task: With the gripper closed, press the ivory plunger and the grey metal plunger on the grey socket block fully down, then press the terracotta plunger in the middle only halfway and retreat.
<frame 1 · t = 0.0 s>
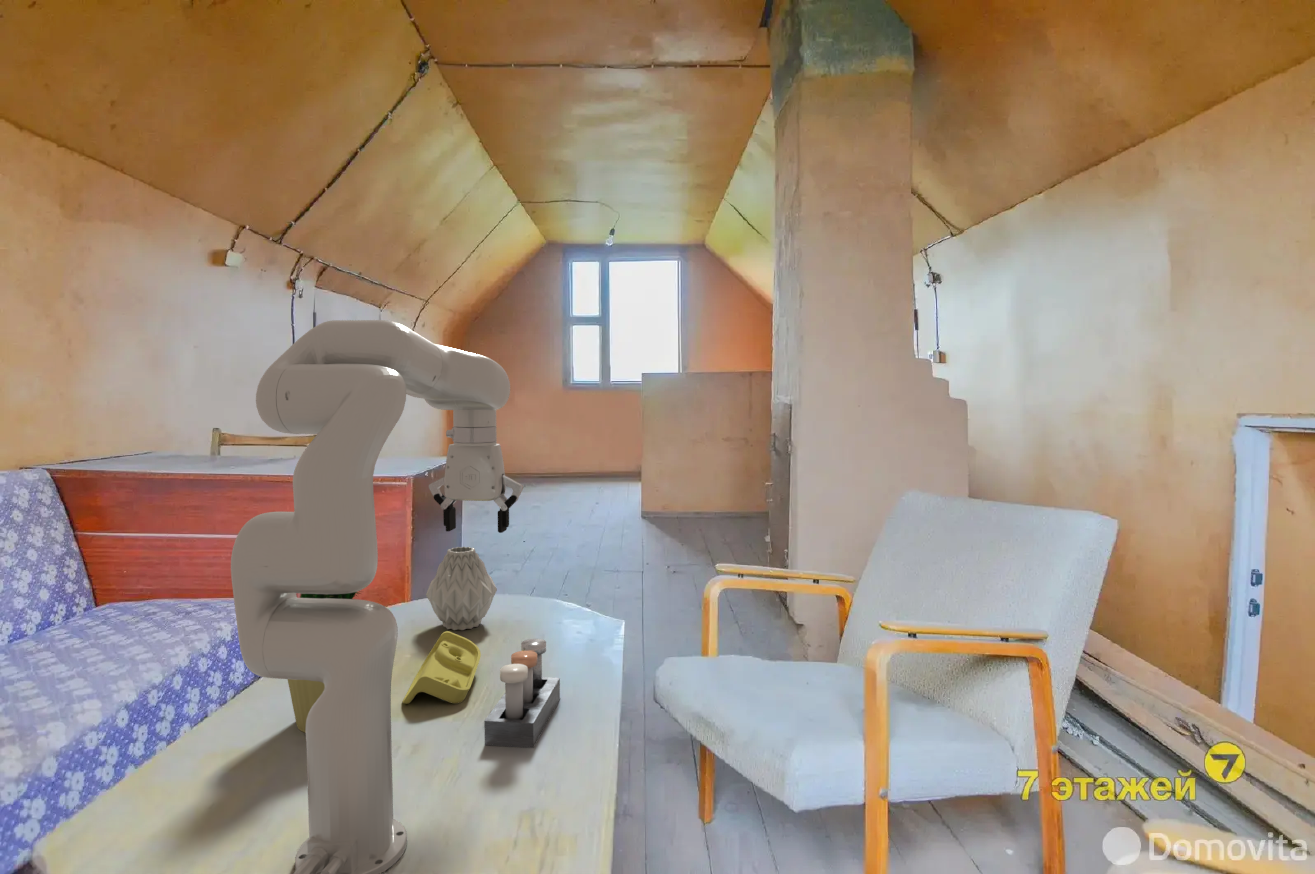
hand: (476, 530, 131), 31 cm above the table, tool pointing down, fingers open, 9 cm apart
ivory plunger: (514, 694, 118), point 7 cm above the table, slide at 0.0 cm
terracotta plunger: (524, 679, 124), point 7 cm above the table, slide at 0.0 cm
grey plunger: (533, 665, 130), point 7 cm above the table, slide at 0.0 cm
grey socket block: (524, 720, 125), on the table
vase: (462, 625, 174), on the table
potted cactus: (333, 720, 125), on the table
plastic component: (447, 686, 139), on the table
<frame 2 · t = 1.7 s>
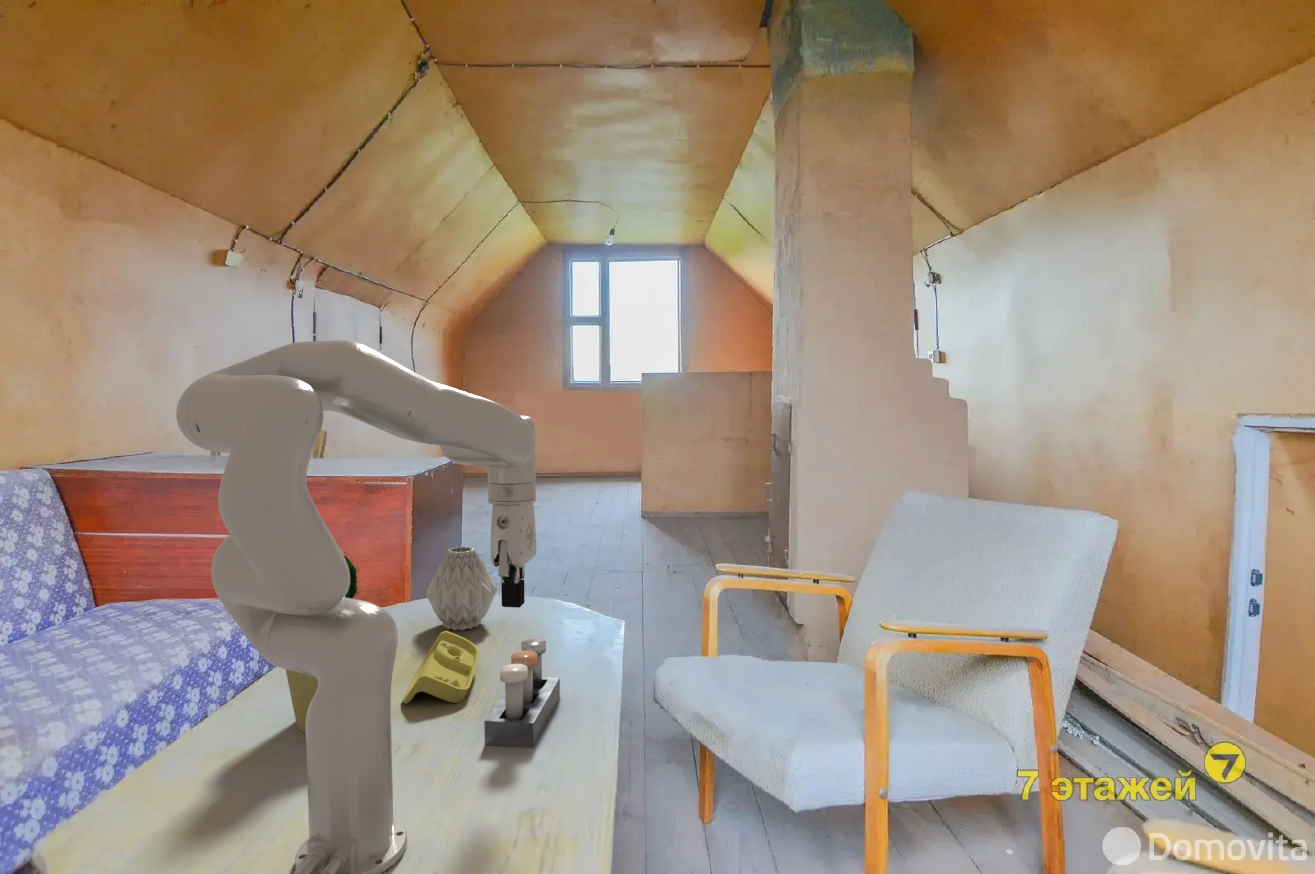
hand: (513, 604, 117), 22 cm above the table, tool pointing down, fingers closed
nothing on the table moved.
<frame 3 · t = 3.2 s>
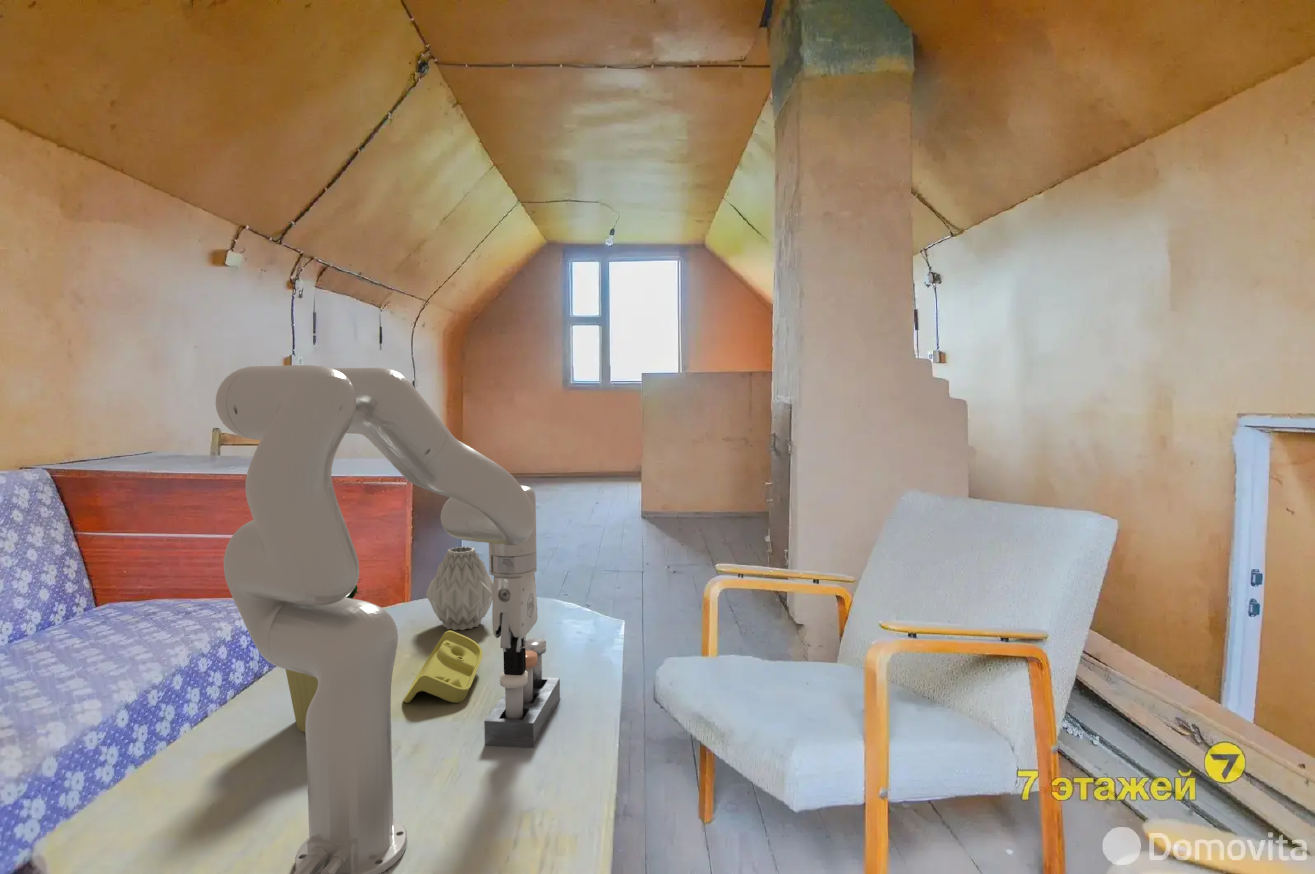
hand: (514, 672, 118), 11 cm above the table, tool pointing down, fingers closed
ivory plunger: (514, 698, 118), point 6 cm above the table, slide at -0.8 cm, touching gripper
everything else where it was.
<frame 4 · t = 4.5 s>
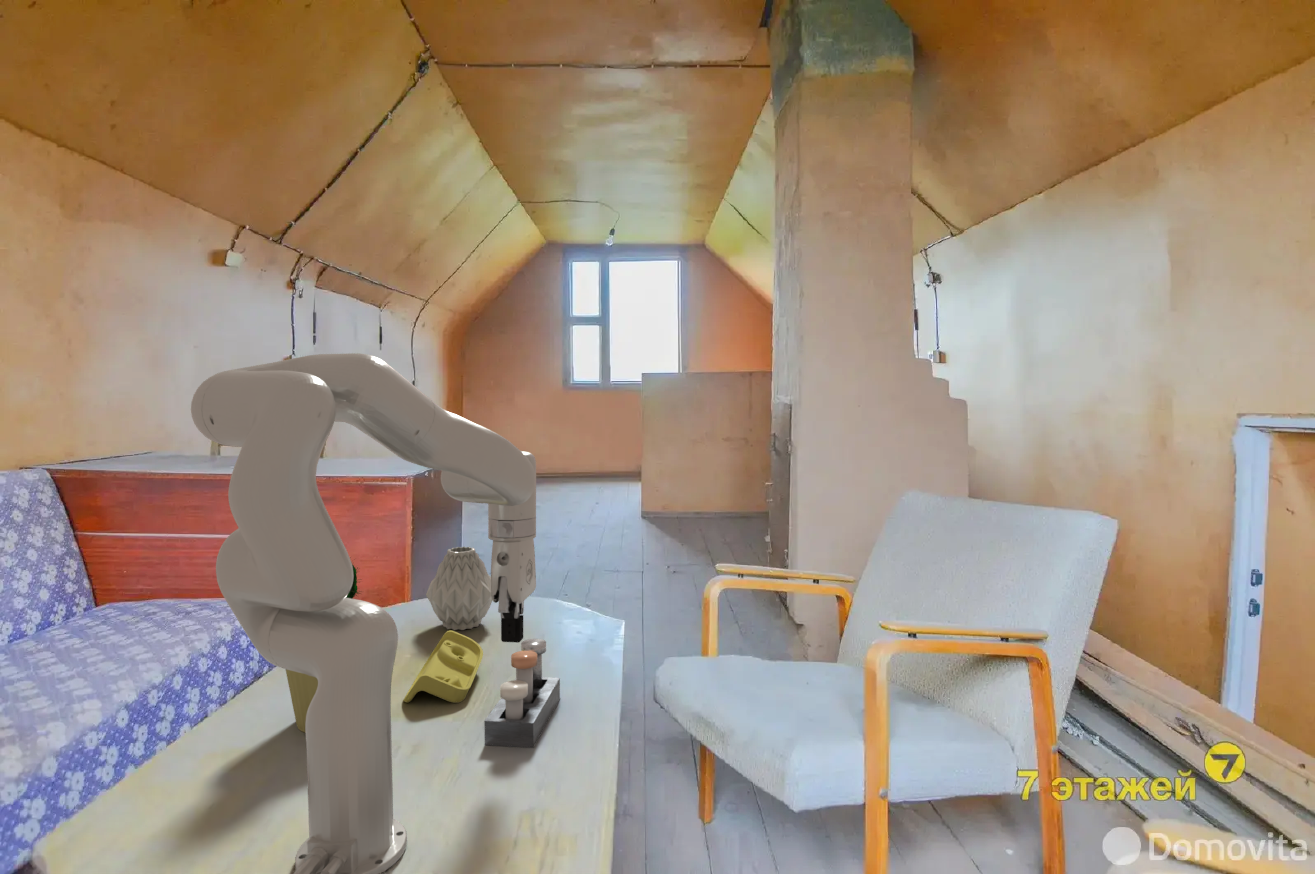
hand: (512, 640, 117), 16 cm above the table, tool pointing down, fingers closed
ivory plunger: (514, 710, 118), point 4 cm above the table, slide at -2.8 cm
everything else where it was.
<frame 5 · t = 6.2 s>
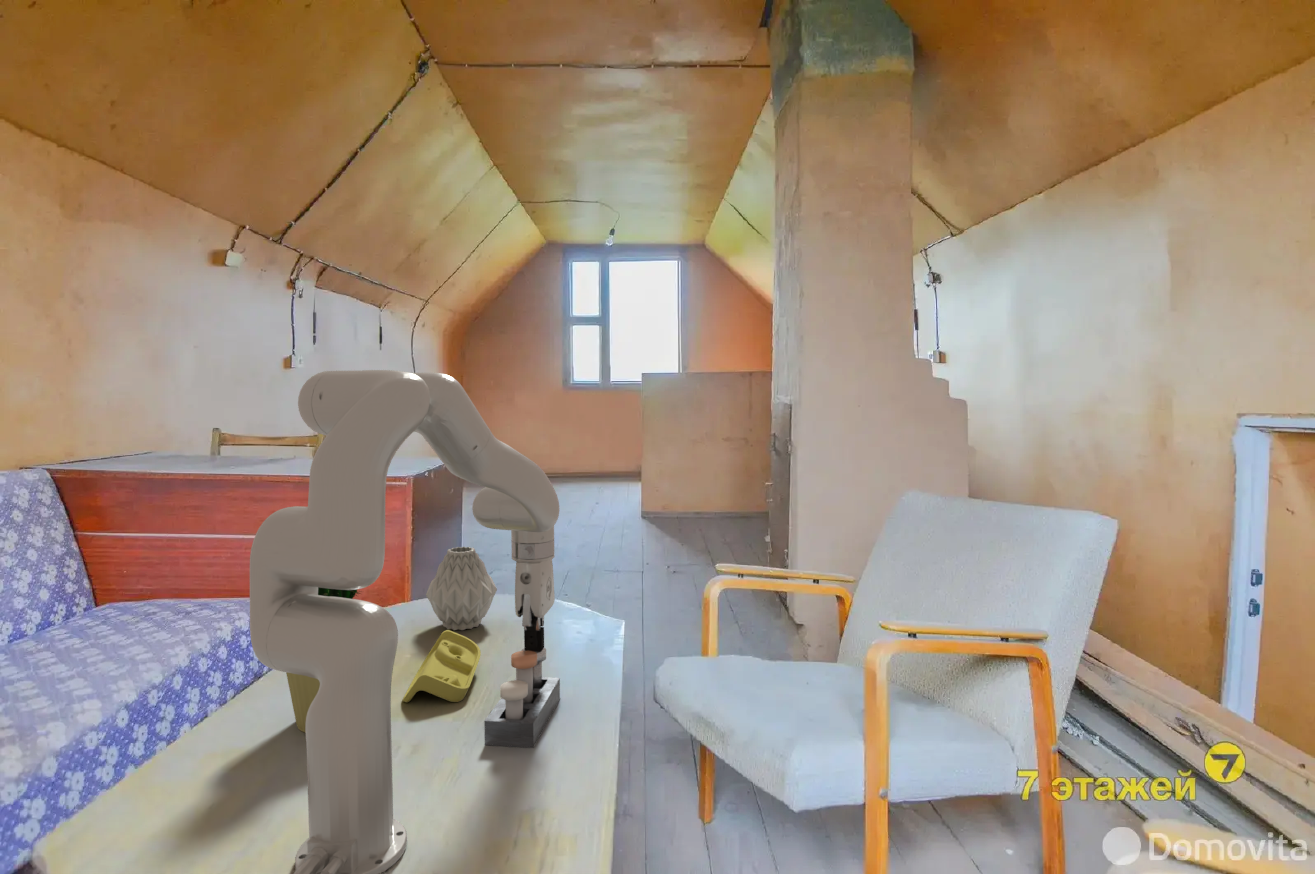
hand: (534, 649, 130), 10 cm above the table, tool pointing down, fingers closed
grey plunger: (533, 673, 130), point 6 cm above the table, slide at -1.4 cm, touching gripper
everything else where it was.
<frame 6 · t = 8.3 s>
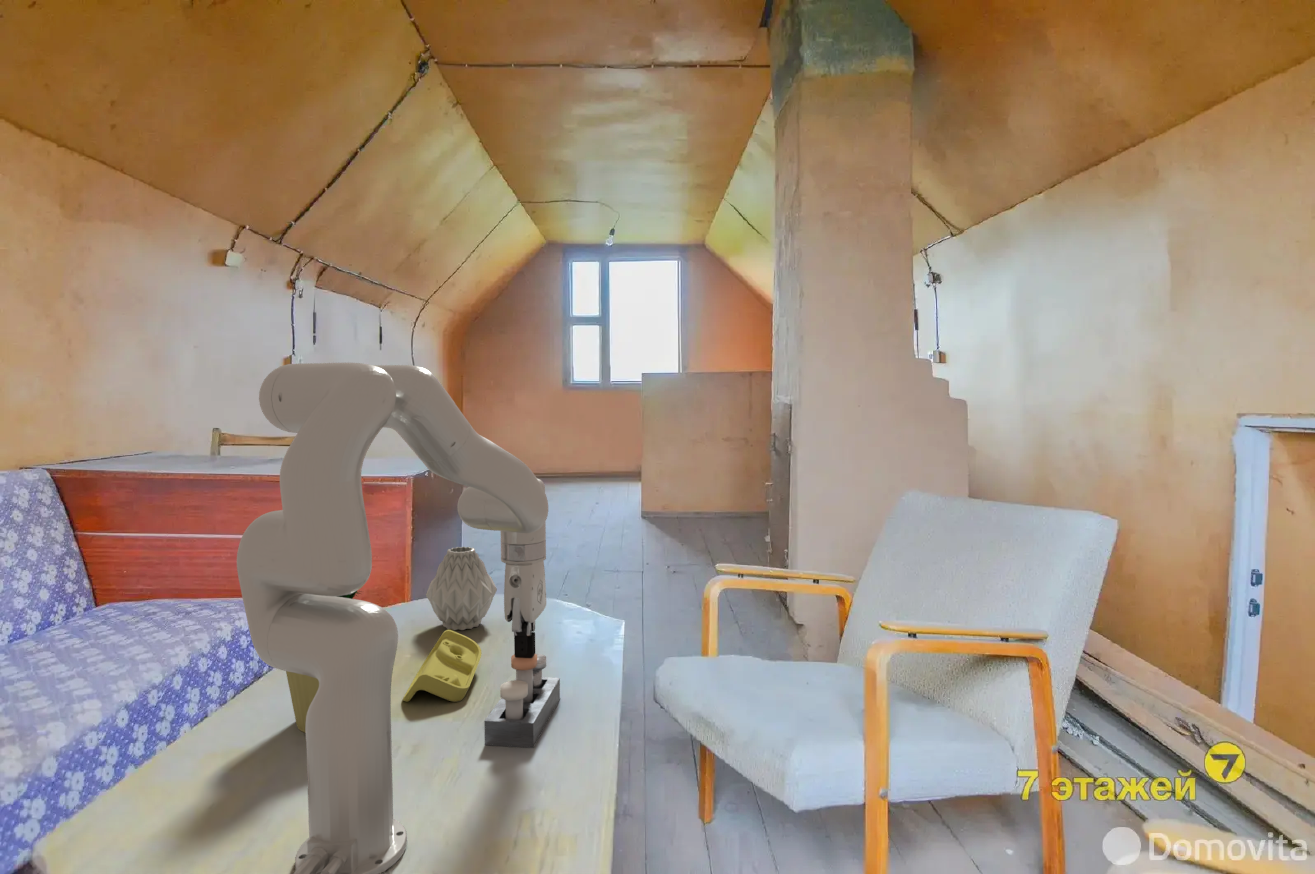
hand: (525, 655, 124), 11 cm above the table, tool pointing down, fingers closed
terracotta plunger: (524, 680, 124), point 7 cm above the table, slide at -0.3 cm, touching gripper
grey plunger: (534, 681, 130), point 4 cm above the table, slide at -2.8 cm
everything else where it was.
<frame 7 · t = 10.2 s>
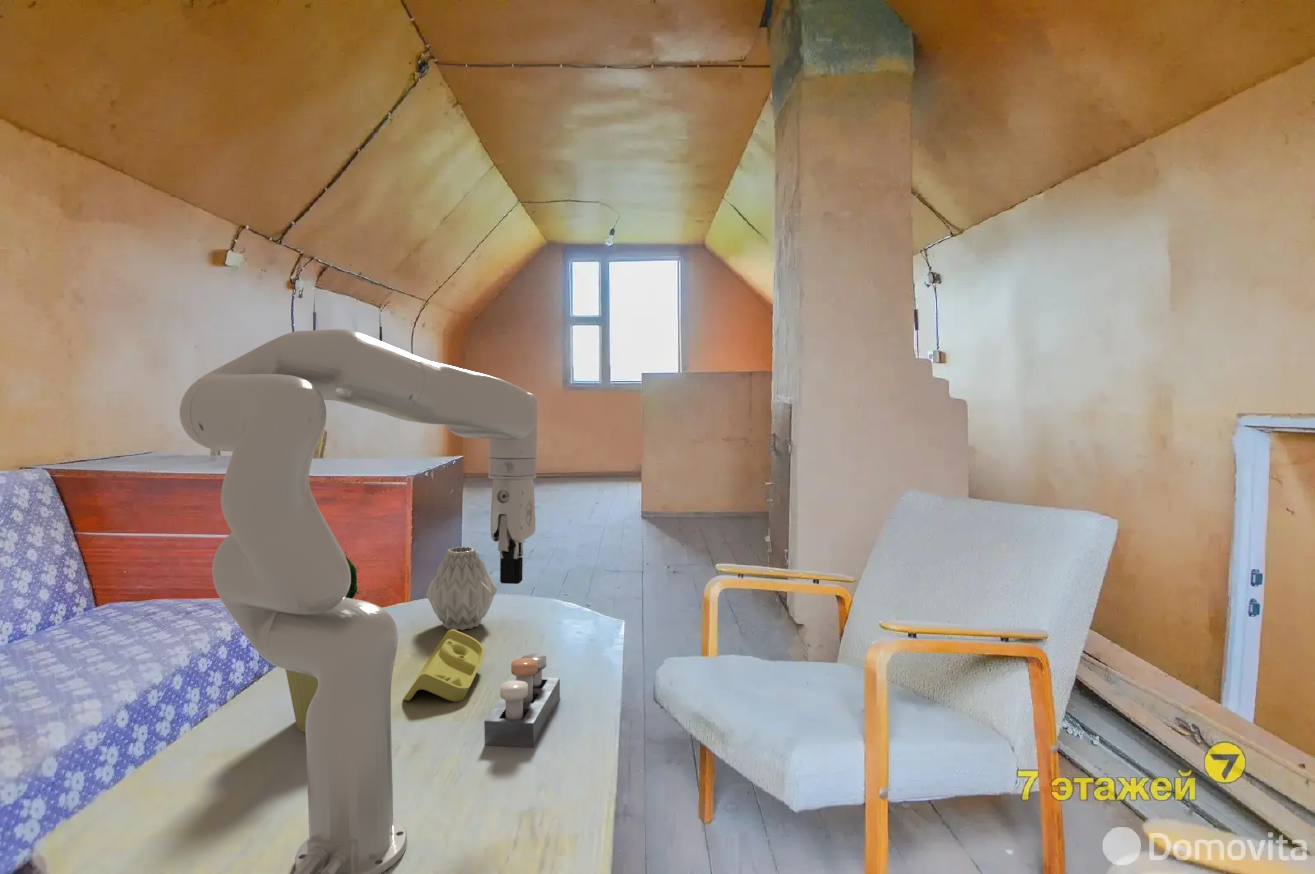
hand: (511, 582, 117), 26 cm above the table, tool pointing down, fingers closed
terracotta plunger: (524, 686, 124), point 6 cm above the table, slide at -1.3 cm
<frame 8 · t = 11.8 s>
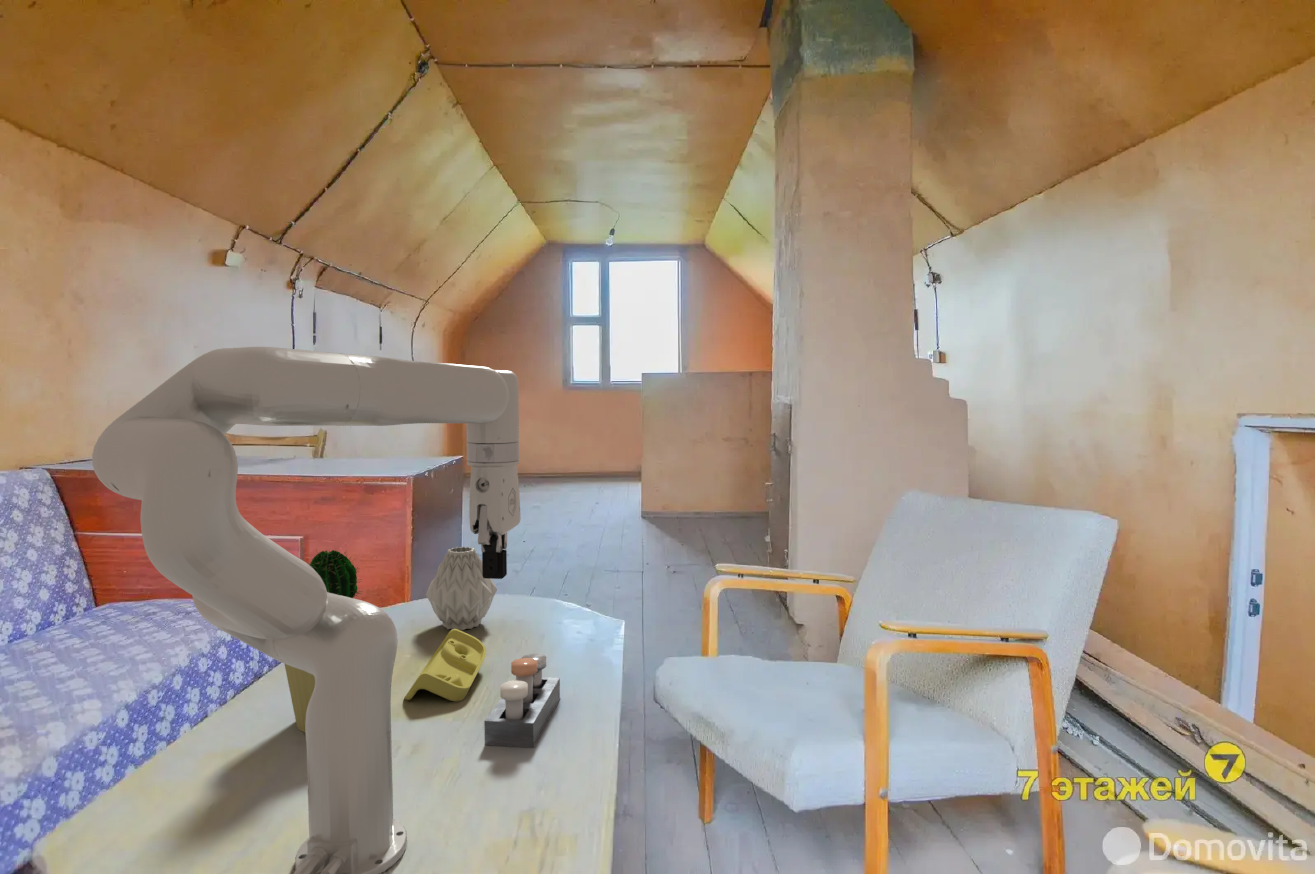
hand: (494, 576, 108), 29 cm above the table, tool pointing down, fingers closed
at the end: ivory plunger slide at -2.8 cm; grey plunger slide at -2.8 cm; terracotta plunger slide at -1.3 cm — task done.
